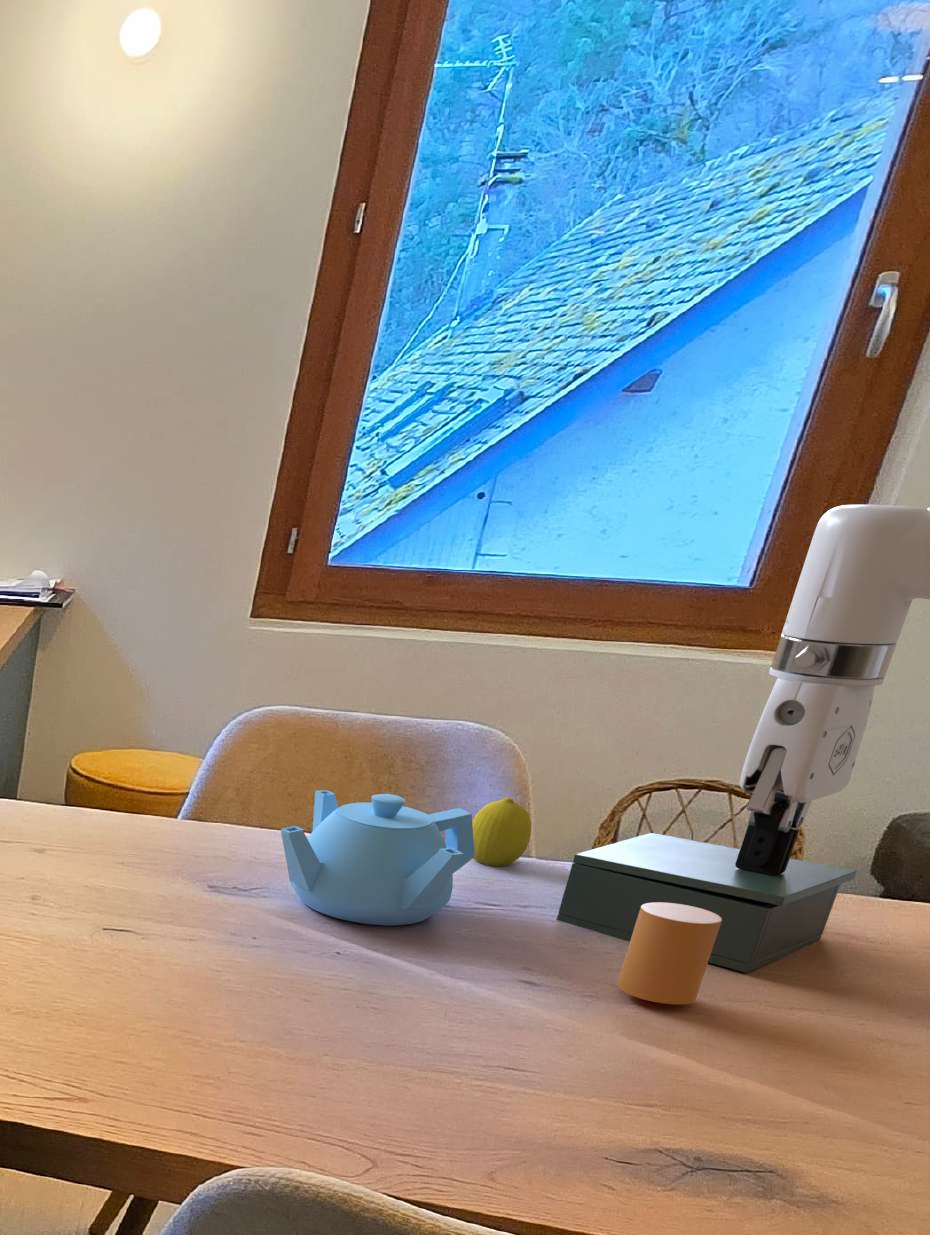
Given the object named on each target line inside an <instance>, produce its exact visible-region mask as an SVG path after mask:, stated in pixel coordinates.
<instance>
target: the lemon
mask: <svg viewBox="0 0 930 1235" xmlns="http://www.w3.org/2000/svg"><path fill="white" fill-rule="evenodd" d="M472 826H473V839H474V851H475V857H474V858H473V860H475V861H476V862H477V863H479V864H483V865H486V866H489V867H490V866H491V867H505V866H509V865H511V864H513V863H514V862H516V861H517V860H518V859H520V858H521V857H522V856H523V854H524V852H525V851H526V850H527V847H528V846H529V844H530V843H529V842H530V839H531V834H532V818H531V816H530V814H529V812H528V811H527V809H526V808H525V807H524V806H523V805H522V804H520V803H518V802H517V801H515V800H514V799H513V798H512V797H507V796H506V797H504V798H503V799H499V800H494V801H492V802H489V803H487V804H485V805H484V806H483V807H481V808H480V809H479V810H478V811H477V813H476V814H475V816H474V817H473V818H472Z"/></svg>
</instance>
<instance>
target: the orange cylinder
mask: <svg viewBox="0 0 930 1235" xmlns="http://www.w3.org/2000/svg"><path fill="white" fill-rule="evenodd" d="M721 922H722V918H721V917H720V916H719V915H717V914H715V913H713V912H710V911H707V910H704V909H701V908H697V907H693V906H688V905H682V904H675V903H664V902H653V903H646V904H643V905H642V906H641V908H640V911H639V914H638V918H637V921H636V924H635V927H634V931H633V934H632V937H631V940H630V941H629V944H628V947H627V951H626V954H625V957H624V960H623V963H622V967H621V970H620V973H619V976H618V980H617V983H616V987H617V988H618V989H619V990H620V991H621V992H623V993H625V994H627V995H629V996H631V997H635V998H637V999H640V1000H643V1001H648V1002H654V1003H658V1004H665V1005H690V1004H691V1003H694V1002H695V1001H696V999H697V998H698V994H699V992H700V991H699V990H700V987H701V984H702V982H703V978H704V976H705V973H706V970H707V966H708V964H709V963H708V961H709V958H710V955H711V952H712V949H713V946H714V943H715V940H716V937H717V934H718V931H719V928H720V925H721Z"/></svg>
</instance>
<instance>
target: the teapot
mask: <svg viewBox="0 0 930 1235" xmlns="http://www.w3.org/2000/svg"><path fill="white" fill-rule="evenodd" d="M405 802H406V799H405V798H403V797H402V796H398V795H396V794H391V793H378V794H373V795H371V801H370V802H369V801H368V802H366V801H365V802H361V801H360V802H350V803H345V804H343V805H341V806H339V804H338V801H337V799H336V793H335V792H332V791H329V790H327V789H325V790H315V793H314V805H313V820H312V831H311V833H310V834H309V835H308V836H306V834H305V829H304V828H301V827H299V826H297V825H293V826H287V827H284V828H280V834H281V840H282V845H283V850H284V856H285V861H286V867H287V872H288V877H289V881H290V885H291V886H292V888H293V889H294V892H296V894H297V895H298V897H299V898H300V900H301V901H302V903H304V904H305V905H306V906H307V907H309V908H311V909H313V911H316V912H319V913H321V914H324V915H326V916H329V917H332V918H335V919H339V920H343V921H348V922H352V923H358V924H363V925H373V926H374V925H375V926H406V925H413V924H418V923H420V922H423V921H425V920H427V919H428V918H430V917H432V916H434V915H435V914H436V913H438V912H439V911H441V910H442V909H443V908H445V906H447V904H448V903H449V901H450V900H451V897H452V892H453V884H454V880H453V879H454V876H453V874H455V873H456V872H457V871H458V870H461V868H463V867H464V866H465V865H467V863H469V862H470V861H471V860H474V857H475V851H474V839H473V826H472V821H473V816H472V812H471V813H470V812H469V811H467V810H465V809H463V808H461V807H456V808H453V809H452V808H451V809H447V810H443V811H439V812H438V811H437V812H434V813H428V814H427V813H425V812H423V811H420V810H418V809H415V808H412V807H408V806H404V804H405ZM443 831H445V836H444V837H445V840H444V838H443V835H442V833H441V832H443Z"/></svg>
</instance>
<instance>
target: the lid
mask: <svg viewBox="0 0 930 1235" xmlns="http://www.w3.org/2000/svg"><path fill="white" fill-rule="evenodd" d="M740 849H741V848H736V847H730V846H724V845H719V844H715V843H709V842H703V841H698V840H692V839H688V838H682V837H677V836H670V835H666V834H661V833H660V834H659V833H654V832H649V833H645V834H643V835H638V836H635V837H631V838H628V839H623V840H621V841H617V842H613V843H609V844H606V845H603V846H600V847H596V848H593V849H588V850H585V851H582V852H578V853H575V854H574V855H573V860H572V863H578V864H583V865H588V866H593V867H598V868H602V869H607V870H612V871H617V872H622V873H626V874H631V875H636V876H641V877H646V878H650V879H655V880H660V881H665V882H670V883H674V884H679V885H684V886H689V887H694V888H698V889H703V890H708V891H713V892H718V893H722V894H727V895H732V896H737V897H742V898H746V899H751V900H756V901H761V902H766V903H770V904H775V905H780V906H782V905H785V904H788V903H791V902H793V901H796V900H799V899H801V898H804V897H807V896H810V895H812V894H815V893H818V892H821V891H823V890H826V889H829V888H831V887H834V886H837V885H840V886H841V885H843V884H845V883H848V882H850V881H854V880H855V878H856V875H857V870H854V869H849V868H844V867H838V866H833V865H827V864H823V863H817V862H811V861H806V860H800V859H795V858H790V859H789V862H788V865H787V867H786V870H785V872H783V873H781V874H778V875H775V876H770V875H765V874H760V873H756V872H751V871H747V870H742V869H738V868H737V867H736V865H735V864H736V861H737V858H738V855H739V852H740Z"/></svg>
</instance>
